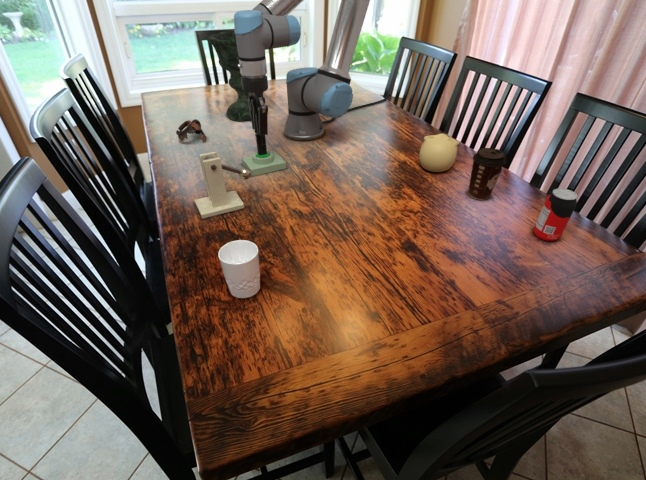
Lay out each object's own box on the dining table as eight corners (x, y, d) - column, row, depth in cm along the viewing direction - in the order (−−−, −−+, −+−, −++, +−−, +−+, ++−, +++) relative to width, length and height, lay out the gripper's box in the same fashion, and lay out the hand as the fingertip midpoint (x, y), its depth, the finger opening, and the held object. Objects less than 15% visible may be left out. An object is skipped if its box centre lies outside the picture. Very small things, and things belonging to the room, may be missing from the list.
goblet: (282, 111, 169) (277, 33, 150) (249, 126, 155) (239, 42, 135) (245, 102, 178) (235, 28, 159) (210, 117, 164) (195, 37, 144)
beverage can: (557, 246, 93) (579, 203, 85) (529, 238, 95) (548, 196, 88) (560, 233, 97) (581, 191, 89) (534, 225, 99) (552, 184, 92)
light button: (267, 155, 128) (266, 150, 127) (271, 160, 125) (270, 155, 124) (255, 158, 126) (255, 153, 125) (259, 162, 124) (259, 157, 123)
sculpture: (455, 163, 128) (463, 131, 121) (449, 178, 119) (456, 145, 112) (422, 157, 131) (427, 126, 124) (413, 172, 123) (418, 139, 116)
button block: (275, 157, 133) (274, 146, 130) (286, 168, 126) (285, 157, 123) (242, 164, 129) (240, 152, 126) (251, 176, 122) (250, 164, 119)
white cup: (228, 276, 85) (220, 240, 79) (263, 274, 86) (258, 238, 79) (224, 301, 79) (215, 265, 73) (262, 299, 80) (257, 262, 73)
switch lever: (246, 177, 109) (250, 167, 107) (249, 182, 107) (254, 172, 105) (202, 164, 101) (206, 153, 100) (205, 169, 99) (209, 158, 97)
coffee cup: (494, 190, 114) (508, 148, 105) (494, 204, 108) (509, 161, 99) (464, 186, 116) (475, 144, 107) (462, 199, 110) (474, 156, 101)
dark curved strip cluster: (205, 146, 141) (189, 129, 135) (186, 155, 145) (170, 139, 140) (212, 126, 148) (197, 109, 142) (194, 135, 152) (179, 119, 146)
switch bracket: (235, 193, 113) (227, 146, 104) (244, 208, 107) (236, 158, 98) (195, 203, 109) (182, 154, 100) (202, 218, 103) (189, 168, 94)
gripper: (234, 71, 112) (245, 148, 128) (248, 82, 103) (258, 163, 119) (258, 68, 115) (266, 144, 130) (274, 79, 106) (280, 159, 121)
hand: (262, 153), depth 124 cm, fingers closed
